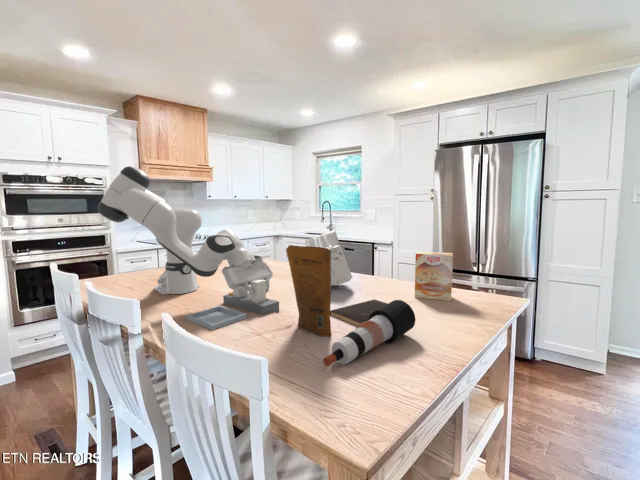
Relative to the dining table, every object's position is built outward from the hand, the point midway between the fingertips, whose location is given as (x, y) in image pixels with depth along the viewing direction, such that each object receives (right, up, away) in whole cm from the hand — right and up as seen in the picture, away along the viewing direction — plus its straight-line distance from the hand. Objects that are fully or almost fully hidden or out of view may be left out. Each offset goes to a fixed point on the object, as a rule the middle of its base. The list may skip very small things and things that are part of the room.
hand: (259, 291), depth 130 cm
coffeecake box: (+72, -5, +18) cm, 75 cm away
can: (-5, -4, +33) cm, 33 cm away
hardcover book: (+41, -8, -3) cm, 42 cm away
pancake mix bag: (+21, -10, -19) cm, 30 cm away
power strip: (-4, -7, +4) cm, 10 cm away
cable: (+37, -12, -34) cm, 51 cm away
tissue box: (+27, -3, +39) cm, 48 cm away
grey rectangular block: (0, -5, +1) cm, 5 cm away
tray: (-13, -9, -10) cm, 19 cm away
